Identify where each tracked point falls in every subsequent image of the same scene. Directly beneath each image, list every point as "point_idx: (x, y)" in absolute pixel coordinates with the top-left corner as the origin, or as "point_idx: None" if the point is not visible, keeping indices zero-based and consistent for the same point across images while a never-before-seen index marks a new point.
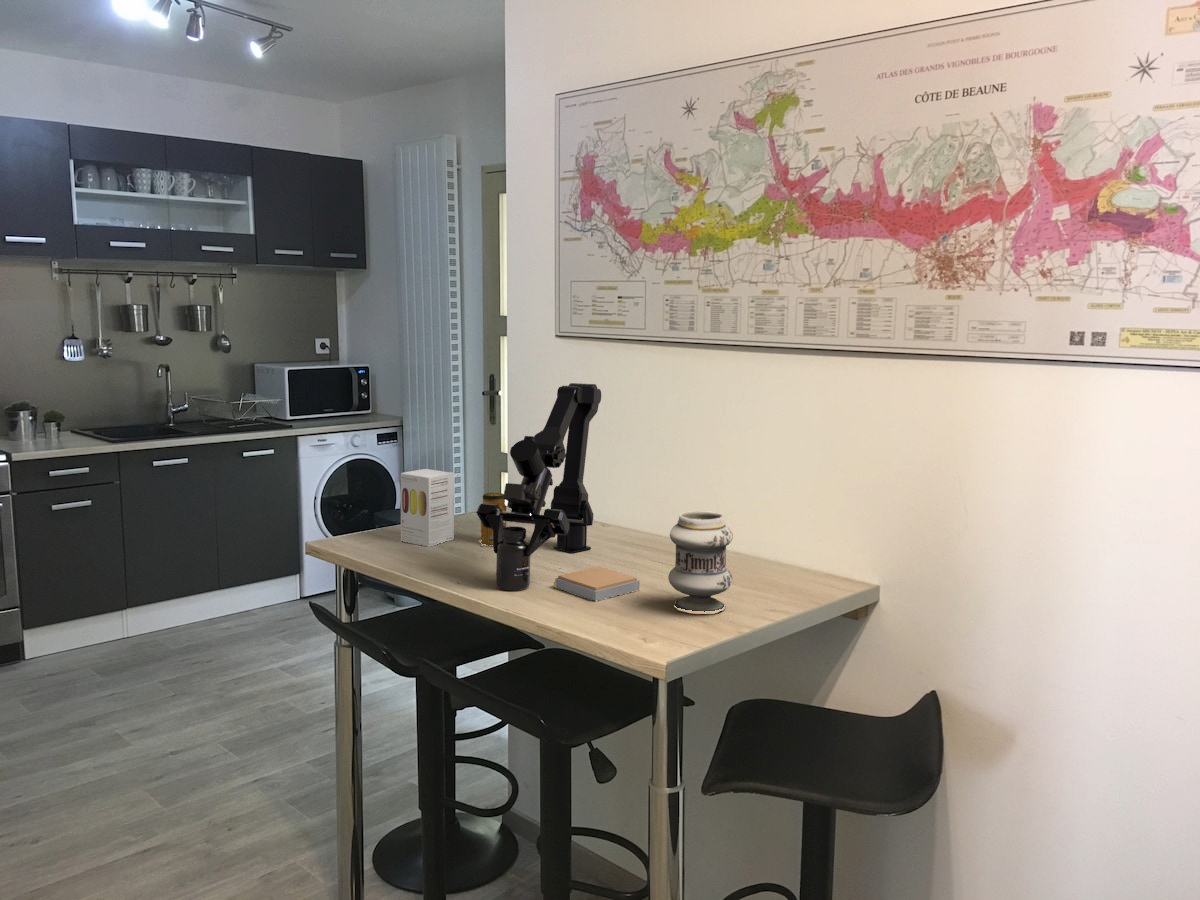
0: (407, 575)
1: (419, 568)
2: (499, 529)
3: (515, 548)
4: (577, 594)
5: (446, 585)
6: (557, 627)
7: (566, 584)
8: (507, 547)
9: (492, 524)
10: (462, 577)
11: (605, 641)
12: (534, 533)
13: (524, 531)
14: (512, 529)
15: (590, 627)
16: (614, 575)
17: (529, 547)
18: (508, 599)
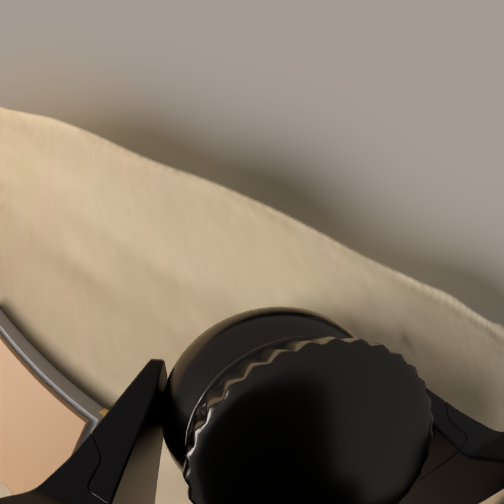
0: (491, 330)
1: (493, 385)
2: (446, 450)
3: (223, 326)
4: (32, 347)
5: (417, 305)
6: (61, 124)
7: (55, 380)
8: (282, 311)
9: (501, 432)
10: None
11: (11, 115)
12: (98, 477)
13: (184, 464)
14: (335, 433)
15: (15, 148)
16: None
17: (139, 388)
18: (203, 247)
